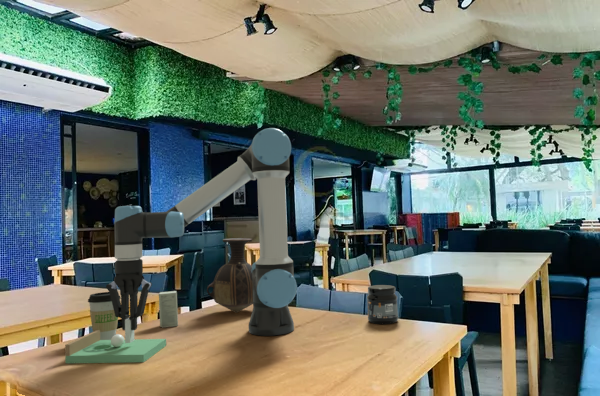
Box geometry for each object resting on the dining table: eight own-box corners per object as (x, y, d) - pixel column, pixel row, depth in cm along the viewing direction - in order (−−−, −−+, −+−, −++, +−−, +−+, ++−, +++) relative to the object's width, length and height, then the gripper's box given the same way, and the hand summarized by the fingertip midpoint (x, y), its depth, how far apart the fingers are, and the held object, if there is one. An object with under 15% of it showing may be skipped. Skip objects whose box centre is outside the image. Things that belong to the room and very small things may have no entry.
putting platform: (166, 345, 136) (165, 328, 137) (143, 362, 120) (143, 343, 121) (96, 346, 138) (96, 330, 138) (65, 363, 122) (65, 344, 122)
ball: (113, 343, 131) (124, 346, 131) (107, 347, 127) (119, 349, 127) (115, 331, 131) (127, 334, 131) (109, 334, 128) (122, 337, 127)
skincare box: (178, 323, 166) (177, 290, 166) (177, 326, 161) (176, 292, 162) (160, 325, 164) (159, 291, 165) (159, 328, 160) (158, 293, 161)
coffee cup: (109, 345, 139) (108, 296, 140) (81, 344, 141) (80, 296, 142) (127, 336, 149) (126, 291, 150) (101, 336, 151) (100, 291, 152)
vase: (202, 317, 174) (200, 240, 176) (219, 308, 194) (217, 238, 195) (259, 317, 171) (257, 238, 172) (271, 307, 190) (268, 236, 191)
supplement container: (376, 317, 164) (374, 284, 165) (403, 319, 158) (401, 285, 159) (362, 323, 156) (360, 288, 156) (390, 326, 150) (388, 290, 150)
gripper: (155, 257, 133) (157, 337, 132) (113, 258, 134) (114, 338, 133) (145, 259, 126) (146, 344, 125) (100, 260, 127) (101, 345, 126)
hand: (129, 341), depth 129 cm, fingers closed
